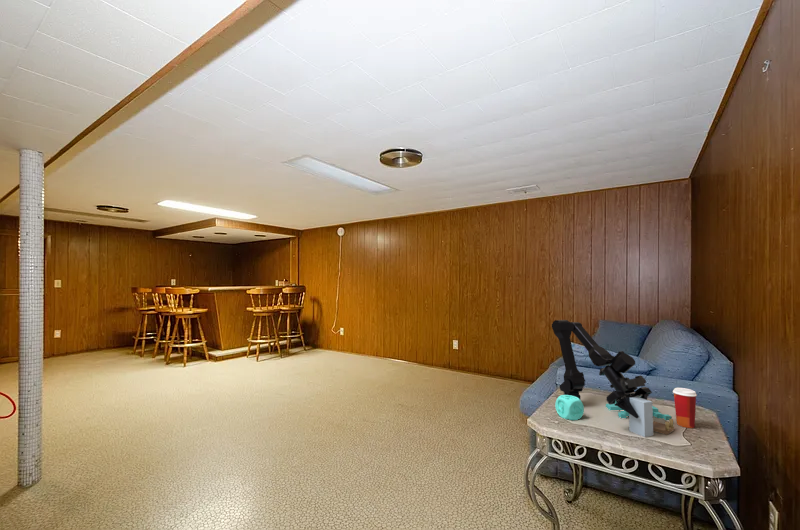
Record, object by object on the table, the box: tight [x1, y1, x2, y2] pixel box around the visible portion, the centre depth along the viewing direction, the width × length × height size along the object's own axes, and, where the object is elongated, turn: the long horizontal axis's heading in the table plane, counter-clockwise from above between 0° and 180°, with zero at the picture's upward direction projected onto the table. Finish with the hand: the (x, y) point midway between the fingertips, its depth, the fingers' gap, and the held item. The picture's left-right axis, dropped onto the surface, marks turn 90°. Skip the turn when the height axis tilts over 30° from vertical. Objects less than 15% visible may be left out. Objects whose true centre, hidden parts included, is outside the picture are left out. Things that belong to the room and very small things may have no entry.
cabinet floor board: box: [653, 418, 675, 435], centre depth 141 cm, size 10×8×4 cm
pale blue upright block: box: [628, 397, 654, 438], centre depth 136 cm, size 6×4×12 cm
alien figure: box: [605, 400, 673, 421], centre depth 160 cm, size 20×2×20 cm
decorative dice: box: [554, 394, 585, 421], centre depth 152 cm, size 8×8×8 cm
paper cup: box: [672, 387, 698, 429], centre depth 144 cm, size 8×8×14 cm
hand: (644, 416), depth 135 cm, fingers open, 7 cm apart
